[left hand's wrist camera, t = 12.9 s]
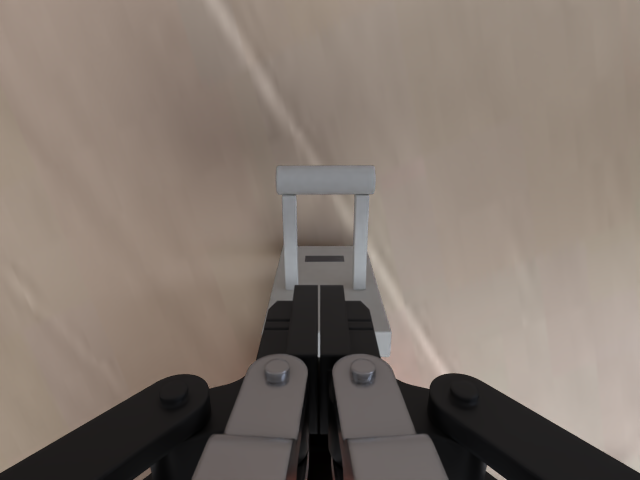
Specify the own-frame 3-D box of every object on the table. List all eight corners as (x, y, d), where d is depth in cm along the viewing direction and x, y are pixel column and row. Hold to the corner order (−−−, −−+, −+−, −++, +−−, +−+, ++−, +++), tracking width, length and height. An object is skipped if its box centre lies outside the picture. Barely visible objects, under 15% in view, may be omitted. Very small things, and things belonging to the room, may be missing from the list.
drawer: (278, 149, 22) (251, 184, 13) (369, 148, 22) (402, 184, 13) (290, 441, 30) (277, 588, 21) (358, 440, 30) (374, 588, 21)
